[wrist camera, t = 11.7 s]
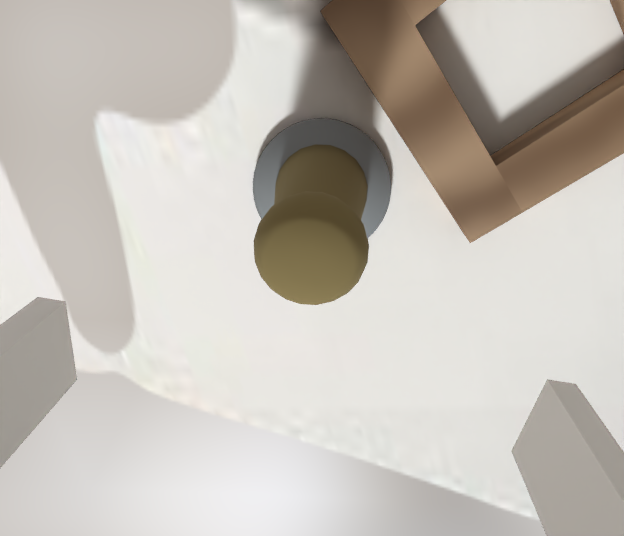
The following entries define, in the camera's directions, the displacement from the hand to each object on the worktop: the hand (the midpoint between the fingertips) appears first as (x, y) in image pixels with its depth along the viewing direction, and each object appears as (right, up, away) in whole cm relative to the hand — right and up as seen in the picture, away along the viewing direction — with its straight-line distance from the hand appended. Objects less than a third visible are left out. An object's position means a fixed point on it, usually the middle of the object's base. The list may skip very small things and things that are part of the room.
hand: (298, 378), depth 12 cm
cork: (+1, +8, +16) cm, 18 cm away
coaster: (+1, +8, +16) cm, 18 cm away
